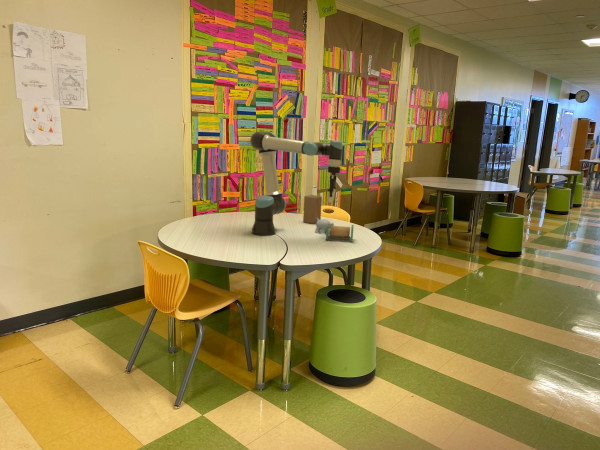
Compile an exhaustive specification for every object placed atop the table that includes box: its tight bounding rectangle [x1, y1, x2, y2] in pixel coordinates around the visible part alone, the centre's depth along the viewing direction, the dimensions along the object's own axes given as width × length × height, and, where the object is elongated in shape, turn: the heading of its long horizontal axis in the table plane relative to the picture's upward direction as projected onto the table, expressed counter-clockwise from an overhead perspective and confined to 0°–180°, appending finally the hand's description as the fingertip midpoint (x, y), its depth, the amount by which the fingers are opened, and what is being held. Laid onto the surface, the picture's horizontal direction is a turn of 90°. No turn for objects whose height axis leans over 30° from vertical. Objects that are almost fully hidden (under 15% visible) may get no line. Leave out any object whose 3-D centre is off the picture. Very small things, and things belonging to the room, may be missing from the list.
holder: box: [325, 222, 355, 243], centre depth 267 cm, size 16×10×9 cm, turn 82°
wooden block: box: [302, 194, 323, 225], centre depth 318 cm, size 10×10×20 cm
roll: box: [329, 225, 351, 238], centre depth 267 cm, size 12×7×7 cm, turn 82°
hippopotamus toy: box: [314, 217, 335, 235], centre depth 286 cm, size 11×15×10 cm
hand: (331, 200), depth 267 cm, fingers open, 13 cm apart
